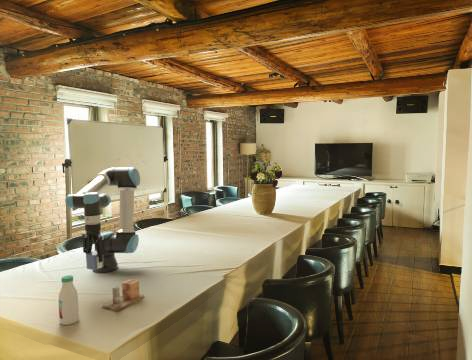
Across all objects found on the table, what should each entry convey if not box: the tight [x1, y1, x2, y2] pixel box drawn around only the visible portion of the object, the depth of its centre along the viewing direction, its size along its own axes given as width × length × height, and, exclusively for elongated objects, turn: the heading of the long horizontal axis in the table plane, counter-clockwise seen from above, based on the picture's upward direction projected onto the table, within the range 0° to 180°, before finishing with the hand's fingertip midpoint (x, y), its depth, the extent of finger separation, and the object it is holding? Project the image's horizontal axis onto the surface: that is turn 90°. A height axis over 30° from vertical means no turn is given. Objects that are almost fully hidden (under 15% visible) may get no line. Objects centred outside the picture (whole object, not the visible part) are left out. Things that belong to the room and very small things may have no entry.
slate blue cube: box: [85, 250, 104, 271], centre depth 183 cm, size 6×6×8 cm
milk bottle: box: [58, 274, 80, 326], centre depth 155 cm, size 8×8×20 cm
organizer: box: [102, 278, 145, 313], centre depth 174 cm, size 10×18×9 cm, turn 155°
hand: (95, 267), depth 183 cm, fingers closed on slate blue cube, 6 cm apart
